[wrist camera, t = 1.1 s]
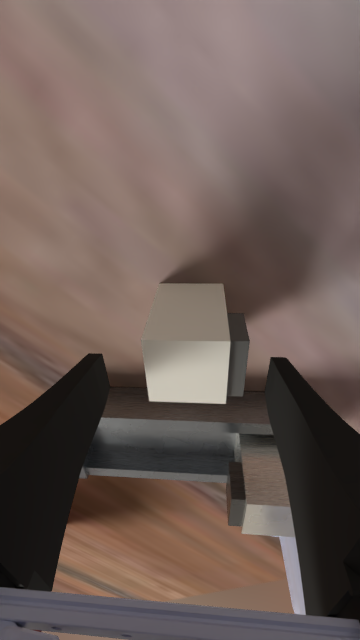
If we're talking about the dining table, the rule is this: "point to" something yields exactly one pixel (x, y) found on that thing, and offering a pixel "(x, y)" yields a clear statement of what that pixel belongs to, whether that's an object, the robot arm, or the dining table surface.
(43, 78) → the dining table surface
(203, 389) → the cream rectangular block
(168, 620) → the robot arm
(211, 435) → the rail
